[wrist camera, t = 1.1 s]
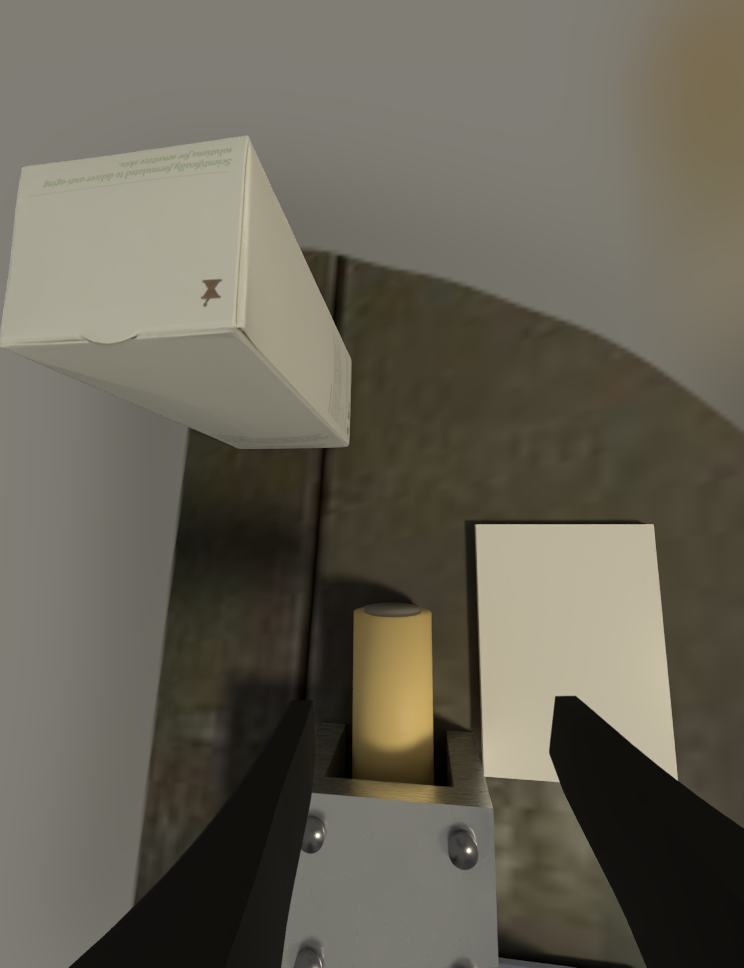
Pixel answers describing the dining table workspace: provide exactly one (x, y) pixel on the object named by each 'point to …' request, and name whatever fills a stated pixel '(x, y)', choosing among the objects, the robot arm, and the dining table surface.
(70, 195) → the skincare box
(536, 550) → the plate
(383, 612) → the tall yellow cylinder
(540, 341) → the dining table surface
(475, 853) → the bearing block
